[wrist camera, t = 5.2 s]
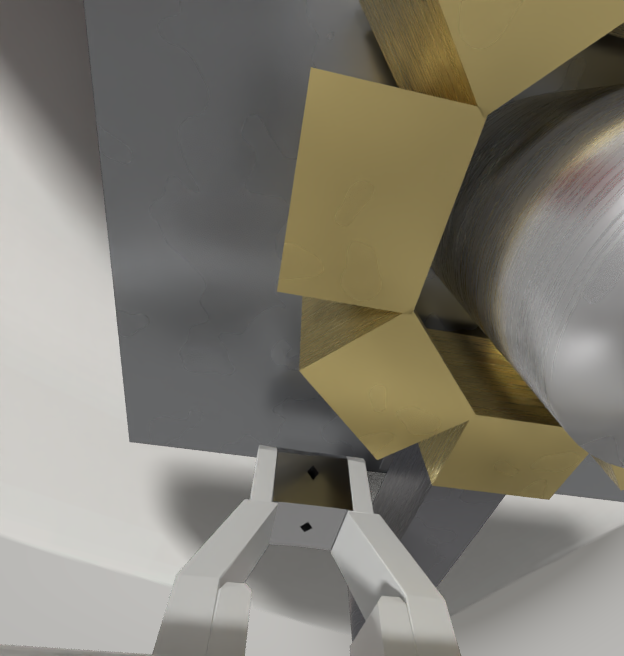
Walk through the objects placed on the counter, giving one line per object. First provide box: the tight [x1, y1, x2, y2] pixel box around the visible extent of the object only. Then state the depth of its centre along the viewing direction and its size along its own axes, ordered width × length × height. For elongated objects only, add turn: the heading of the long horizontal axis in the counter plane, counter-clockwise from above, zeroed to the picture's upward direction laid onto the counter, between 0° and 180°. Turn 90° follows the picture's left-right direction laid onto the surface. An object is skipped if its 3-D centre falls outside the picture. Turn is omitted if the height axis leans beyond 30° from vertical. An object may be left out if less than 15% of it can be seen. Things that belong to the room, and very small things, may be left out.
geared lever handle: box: [277, 0, 624, 642], centre depth 8 cm, size 18×10×4 cm, turn 169°
